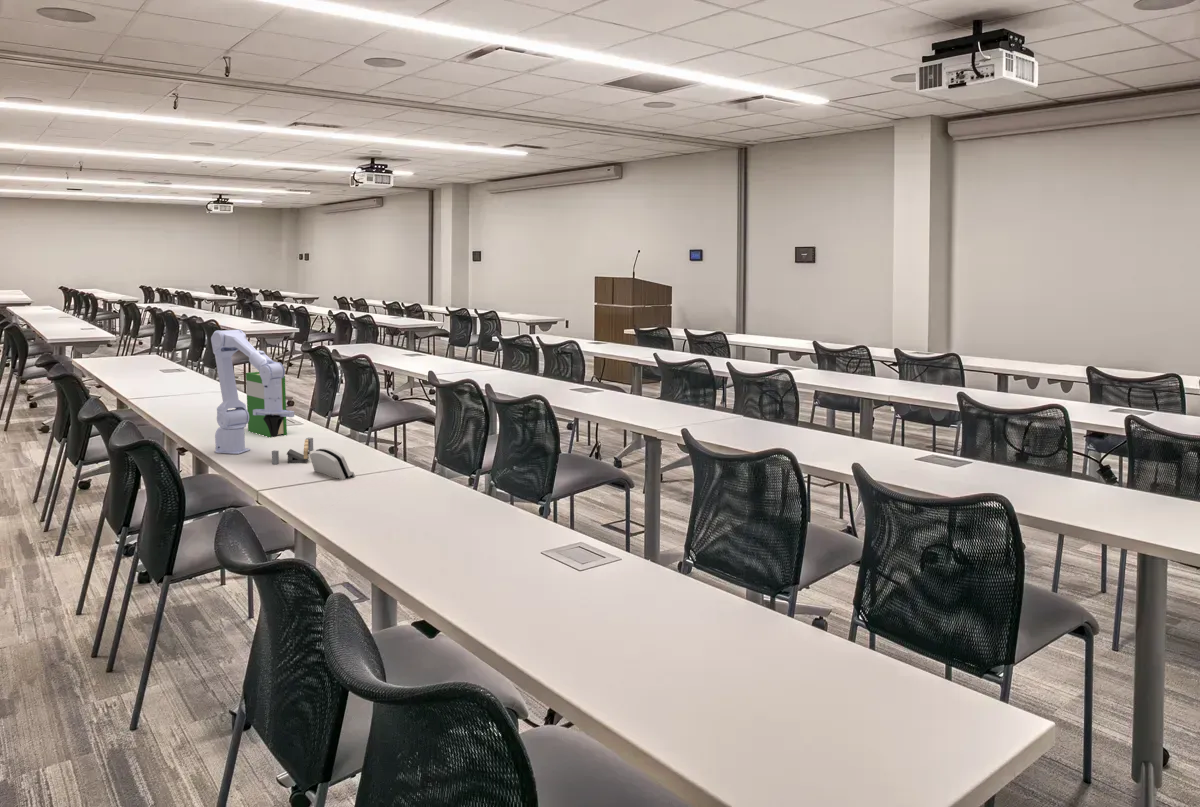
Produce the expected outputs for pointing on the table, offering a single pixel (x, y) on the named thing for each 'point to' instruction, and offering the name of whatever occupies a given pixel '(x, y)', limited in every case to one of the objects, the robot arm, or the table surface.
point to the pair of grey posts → (276, 454)
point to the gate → (306, 449)
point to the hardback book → (261, 405)
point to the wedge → (295, 457)
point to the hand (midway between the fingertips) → (274, 436)
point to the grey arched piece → (330, 463)
